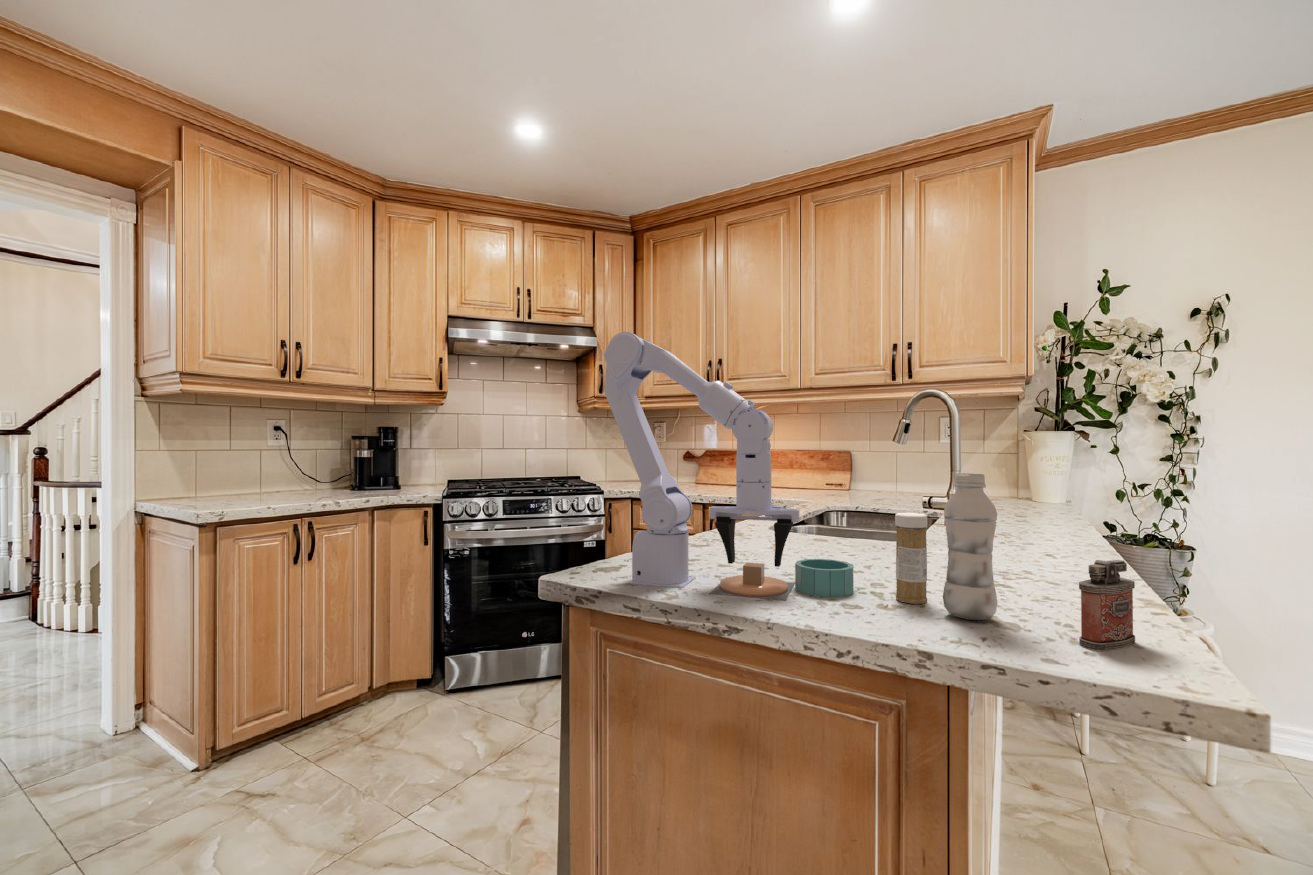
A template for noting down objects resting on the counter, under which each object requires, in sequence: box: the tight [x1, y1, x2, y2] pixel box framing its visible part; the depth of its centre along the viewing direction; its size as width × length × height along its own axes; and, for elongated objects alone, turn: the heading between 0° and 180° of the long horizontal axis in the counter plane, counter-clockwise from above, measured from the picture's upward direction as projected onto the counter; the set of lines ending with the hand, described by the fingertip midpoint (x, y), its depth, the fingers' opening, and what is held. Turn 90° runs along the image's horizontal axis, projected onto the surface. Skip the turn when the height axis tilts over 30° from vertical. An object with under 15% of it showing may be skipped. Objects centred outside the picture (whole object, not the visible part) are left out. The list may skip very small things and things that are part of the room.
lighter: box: [1078, 559, 1136, 652], centre depth 70 cm, size 8×3×10 cm, turn 114°
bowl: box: [794, 558, 854, 598], centre depth 95 cm, size 9×9×4 cm
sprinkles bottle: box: [894, 512, 928, 605], centre depth 90 cm, size 5×5×14 cm
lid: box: [719, 562, 788, 597], centre depth 96 cm, size 11×11×4 cm
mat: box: [708, 576, 795, 602], centre depth 96 cm, size 12×12×1 cm
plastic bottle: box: [942, 472, 998, 621], centre depth 81 cm, size 6×7×20 cm
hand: (754, 563), depth 96 cm, fingers open, 7 cm apart
